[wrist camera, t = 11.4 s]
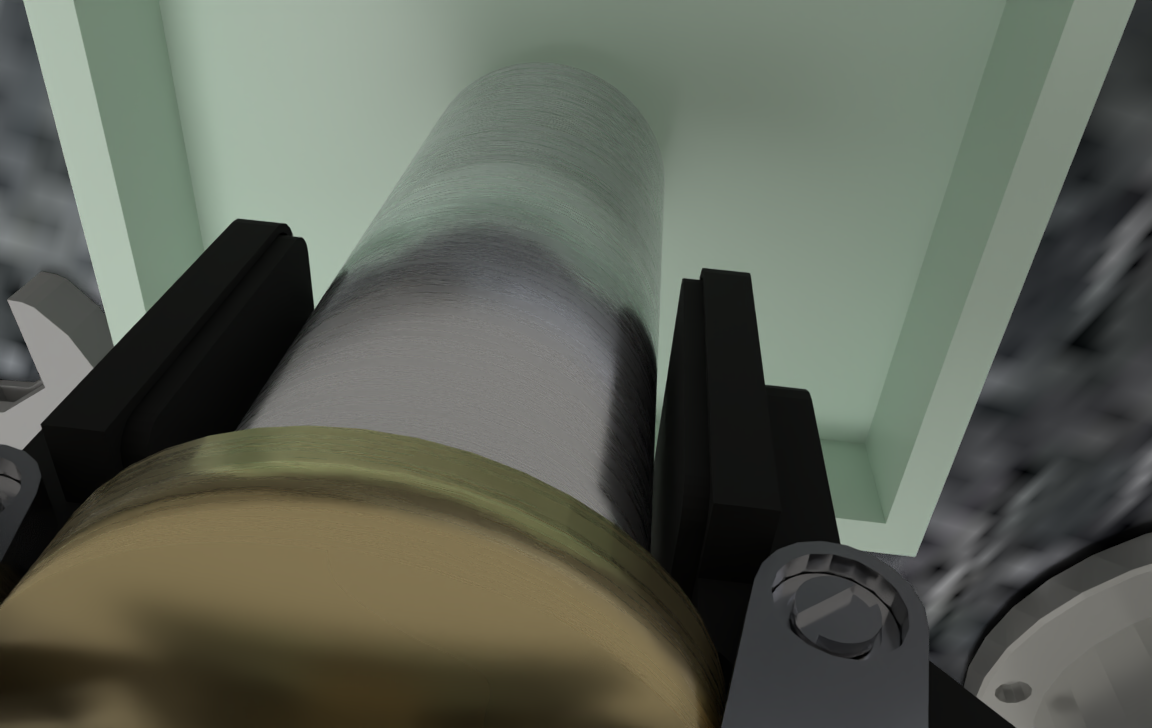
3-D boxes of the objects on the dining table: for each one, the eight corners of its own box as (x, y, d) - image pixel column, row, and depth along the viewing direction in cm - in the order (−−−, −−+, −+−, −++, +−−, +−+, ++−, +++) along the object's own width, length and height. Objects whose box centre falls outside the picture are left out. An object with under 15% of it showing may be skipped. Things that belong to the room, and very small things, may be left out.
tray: (1143, -287, 13) (1252, -295, 11) (887, 461, 21) (915, 557, 18) (56, -374, 14) (-81, -400, 11) (206, 383, 22) (145, 466, 19)
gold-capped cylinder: (724, 39, 14) (810, 608, 5) (679, 330, 17) (676, 1030, 8) (383, 6, 14) (-173, 488, 5) (397, 300, 17) (68, 944, 8)
